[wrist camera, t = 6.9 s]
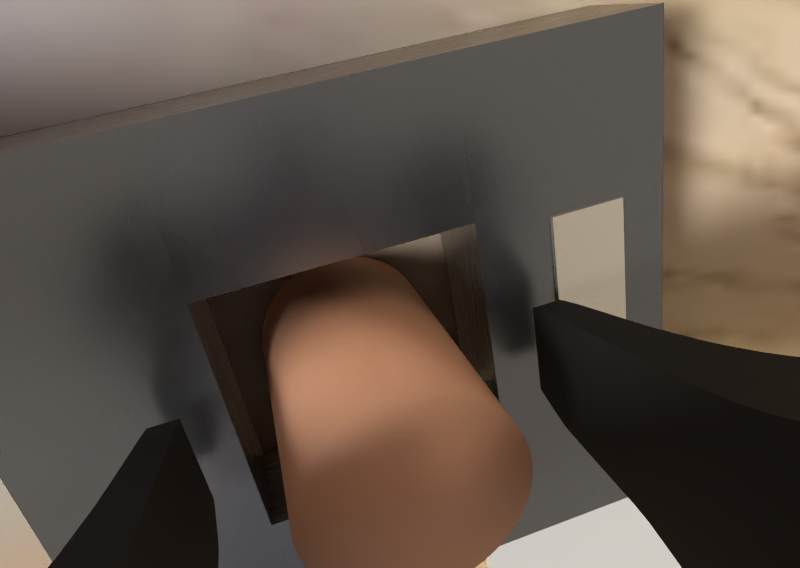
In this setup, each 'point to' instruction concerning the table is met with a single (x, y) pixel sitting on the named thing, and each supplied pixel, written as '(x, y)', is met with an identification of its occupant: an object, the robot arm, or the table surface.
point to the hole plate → (323, 248)
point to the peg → (385, 427)
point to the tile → (590, 543)
